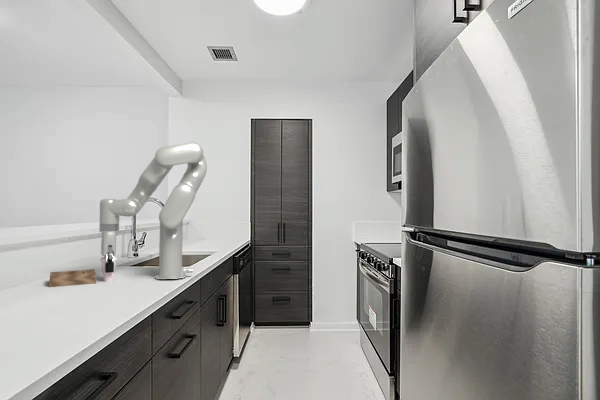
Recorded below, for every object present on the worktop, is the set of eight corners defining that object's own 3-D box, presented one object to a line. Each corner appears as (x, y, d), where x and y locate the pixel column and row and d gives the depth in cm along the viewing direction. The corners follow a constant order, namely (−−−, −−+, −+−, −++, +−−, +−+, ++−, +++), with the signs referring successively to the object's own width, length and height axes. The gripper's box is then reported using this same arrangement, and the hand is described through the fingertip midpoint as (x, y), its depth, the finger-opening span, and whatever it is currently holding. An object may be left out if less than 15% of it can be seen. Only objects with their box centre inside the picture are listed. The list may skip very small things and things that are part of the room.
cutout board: (93, 278, 175) (94, 269, 175) (95, 283, 165) (96, 273, 165) (50, 281, 167) (50, 272, 167) (49, 287, 156) (49, 276, 157)
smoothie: (97, 280, 170) (97, 247, 170) (112, 278, 175) (112, 246, 175) (104, 282, 166) (105, 248, 166) (119, 280, 171) (120, 247, 171)
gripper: (97, 227, 176) (97, 268, 176) (101, 229, 161) (100, 274, 161) (116, 227, 180) (116, 267, 180) (121, 229, 165) (120, 273, 165)
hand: (108, 270), depth 171 cm, fingers open, 6 cm apart
